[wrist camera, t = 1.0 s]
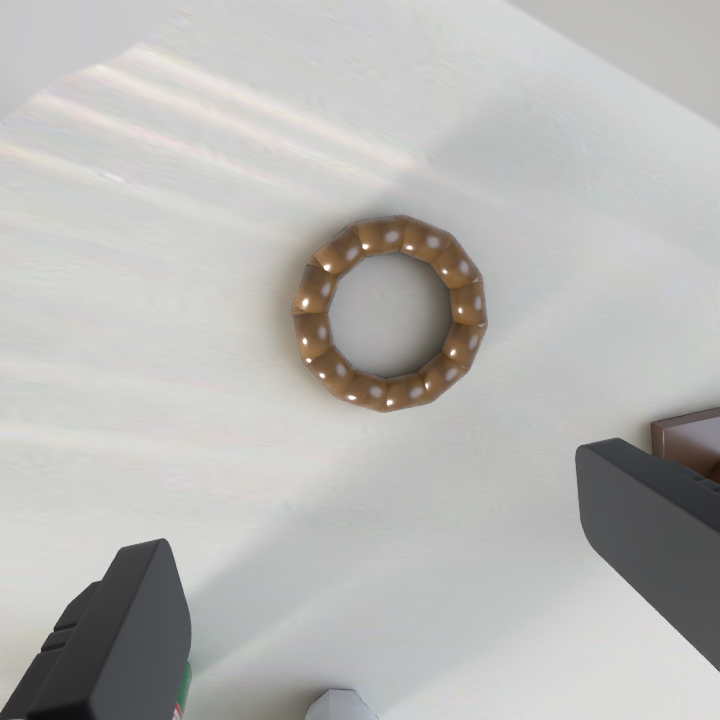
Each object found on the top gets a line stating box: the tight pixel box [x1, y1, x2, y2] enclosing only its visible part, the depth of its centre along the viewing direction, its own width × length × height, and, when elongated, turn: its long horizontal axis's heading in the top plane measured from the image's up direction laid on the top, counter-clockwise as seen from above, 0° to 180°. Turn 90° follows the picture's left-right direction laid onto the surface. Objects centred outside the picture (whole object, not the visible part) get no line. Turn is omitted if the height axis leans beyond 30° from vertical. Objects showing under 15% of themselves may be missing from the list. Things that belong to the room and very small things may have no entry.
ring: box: [292, 215, 488, 413], centre depth 30 cm, size 11×11×2 cm
